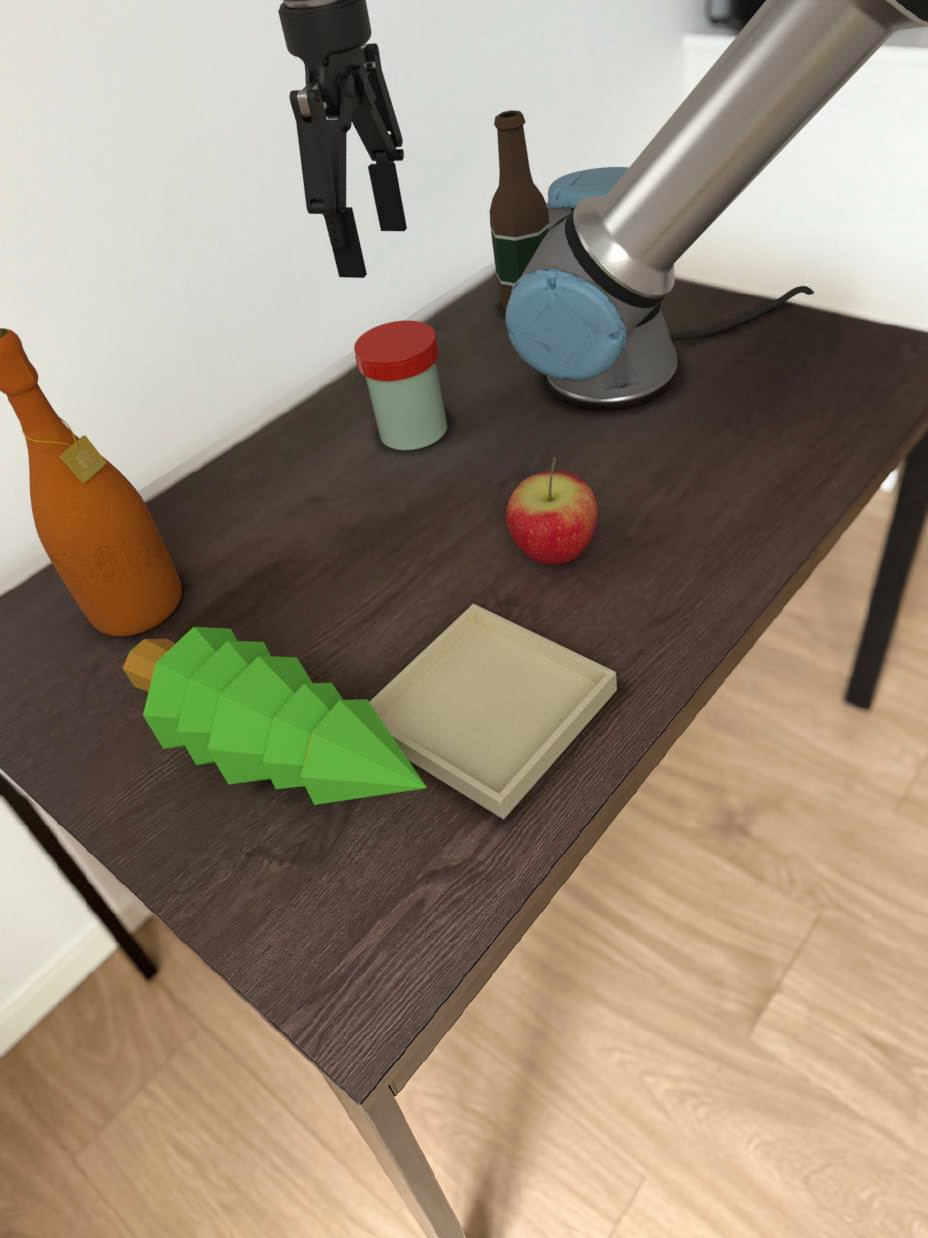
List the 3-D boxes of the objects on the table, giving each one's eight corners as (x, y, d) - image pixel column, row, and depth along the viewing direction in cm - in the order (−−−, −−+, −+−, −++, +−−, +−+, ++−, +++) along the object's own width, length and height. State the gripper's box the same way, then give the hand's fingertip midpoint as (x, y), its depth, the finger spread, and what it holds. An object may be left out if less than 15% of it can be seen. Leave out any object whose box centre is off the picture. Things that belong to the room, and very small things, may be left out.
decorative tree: (136, 579, 79) (429, 691, 64) (217, 634, 88) (488, 743, 73) (62, 702, 76) (351, 849, 61) (154, 745, 85) (423, 881, 70)
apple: (612, 533, 93) (608, 448, 86) (577, 590, 88) (570, 505, 81) (535, 517, 96) (526, 434, 89) (498, 570, 91) (485, 487, 84)
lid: (396, 331, 109) (392, 313, 107) (455, 349, 104) (452, 330, 103) (342, 369, 105) (337, 350, 103) (400, 389, 100) (396, 370, 98)
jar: (411, 404, 115) (393, 320, 107) (461, 421, 111) (446, 335, 103) (365, 438, 111) (344, 353, 103) (415, 457, 107) (397, 370, 99)
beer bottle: (553, 318, 125) (536, 122, 108) (495, 320, 127) (470, 128, 110) (560, 289, 130) (546, 99, 113) (505, 292, 132) (482, 105, 115)
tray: (476, 621, 87) (473, 603, 85) (617, 690, 79) (616, 671, 77) (361, 731, 80) (355, 713, 78) (503, 820, 71) (500, 802, 70)
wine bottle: (101, 658, 91) (-66, 381, 70) (82, 599, 97) (-76, 331, 76) (198, 615, 93) (65, 335, 72) (173, 561, 100) (44, 290, 79)
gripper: (336, -37, 89) (383, 205, 104) (215, 37, 75) (291, 304, 90) (409, -44, 86) (447, 205, 102) (299, 31, 72) (362, 307, 88)
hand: (374, 251), depth 96 cm, fingers open, 10 cm apart
